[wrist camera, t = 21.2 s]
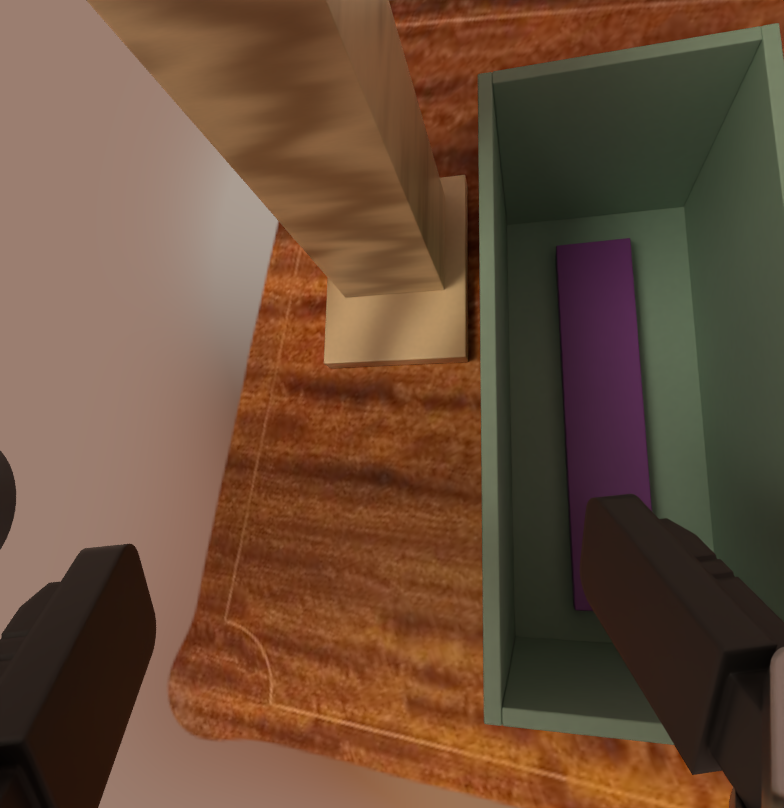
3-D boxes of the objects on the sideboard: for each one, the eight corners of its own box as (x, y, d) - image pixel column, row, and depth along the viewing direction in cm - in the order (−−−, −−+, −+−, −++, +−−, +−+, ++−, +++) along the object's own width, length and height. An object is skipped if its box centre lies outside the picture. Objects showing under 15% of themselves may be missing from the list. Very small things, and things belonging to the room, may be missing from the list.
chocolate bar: (654, 610, 29) (660, 614, 28) (573, 606, 30) (574, 610, 29) (626, 248, 33) (630, 237, 32) (555, 255, 34) (556, 245, 32)
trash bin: (504, 644, 31) (483, 724, 19) (497, 222, 36) (477, 73, 24) (732, 661, 28) (877, 768, 16) (691, 202, 33) (779, 22, 21)
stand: (329, 368, 37) (-677, -356, 6) (337, 200, 39) (-371, -921, 9) (468, 362, 34) (-48, -800, 4) (467, 184, 37) (133, -1403, 6)
